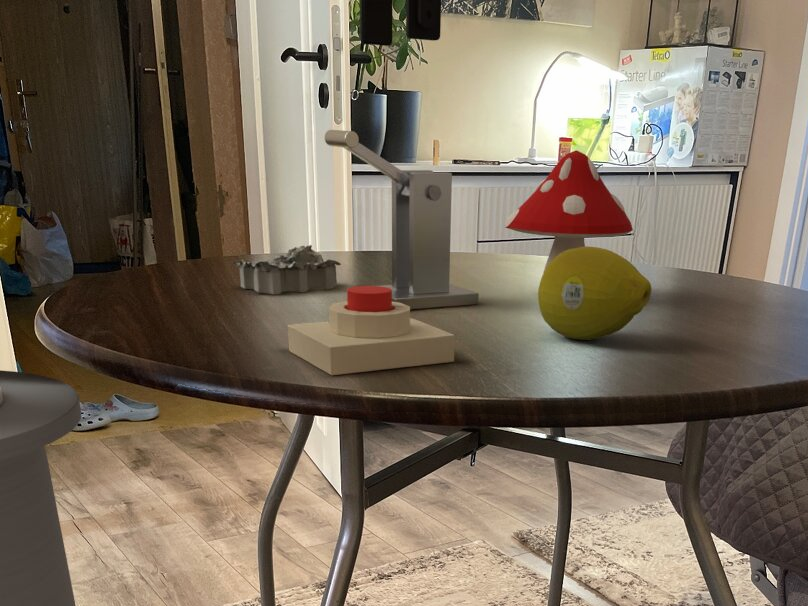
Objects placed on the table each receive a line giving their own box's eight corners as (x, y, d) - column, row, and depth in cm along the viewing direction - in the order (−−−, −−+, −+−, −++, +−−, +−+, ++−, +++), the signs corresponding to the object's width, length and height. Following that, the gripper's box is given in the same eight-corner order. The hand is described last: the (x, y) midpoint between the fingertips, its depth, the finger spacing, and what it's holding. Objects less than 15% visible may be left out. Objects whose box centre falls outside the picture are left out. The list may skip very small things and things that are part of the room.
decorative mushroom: (499, 303, 99) (507, 150, 92) (503, 283, 111) (510, 146, 104) (630, 309, 98) (648, 154, 91) (619, 288, 110) (634, 150, 103)
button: (359, 317, 72) (358, 294, 71) (340, 309, 75) (340, 287, 74) (399, 314, 74) (399, 291, 73) (380, 306, 76) (379, 284, 76)
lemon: (514, 335, 85) (519, 243, 81) (567, 324, 90) (574, 238, 86) (607, 356, 78) (617, 258, 74) (659, 344, 83) (671, 251, 79)
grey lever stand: (395, 310, 94) (395, 174, 88) (362, 298, 100) (360, 169, 94) (478, 304, 98) (483, 173, 92) (442, 292, 104) (444, 169, 98)
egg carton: (315, 280, 110) (314, 244, 108) (346, 289, 105) (345, 251, 103) (232, 286, 104) (229, 248, 103) (260, 296, 99) (257, 256, 97)
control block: (331, 375, 70) (329, 322, 68) (288, 351, 77) (285, 302, 75) (454, 362, 75) (455, 312, 73) (404, 340, 82) (404, 293, 80)
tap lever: (340, 148, 86) (351, 123, 85) (320, 145, 89) (329, 121, 89) (438, 210, 93) (448, 188, 93) (415, 206, 97) (425, 184, 96)
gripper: (320, -179, 82) (325, 43, 90) (406, -233, 69) (404, 33, 77) (394, -164, 85) (394, 49, 93) (491, -213, 72) (480, 40, 80)
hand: (398, 42), depth 85 cm, fingers open, 9 cm apart
